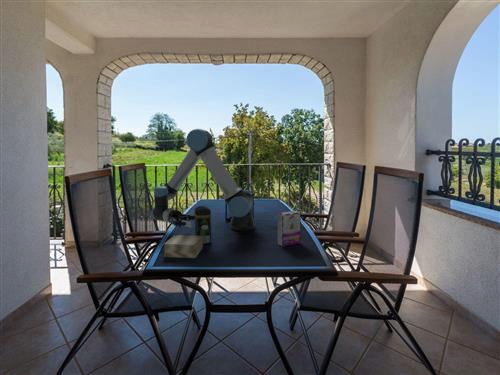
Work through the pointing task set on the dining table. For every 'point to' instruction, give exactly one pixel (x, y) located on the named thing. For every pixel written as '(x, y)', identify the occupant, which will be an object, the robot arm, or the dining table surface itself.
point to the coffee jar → (203, 223)
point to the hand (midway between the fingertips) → (200, 221)
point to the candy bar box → (289, 228)
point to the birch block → (183, 246)
